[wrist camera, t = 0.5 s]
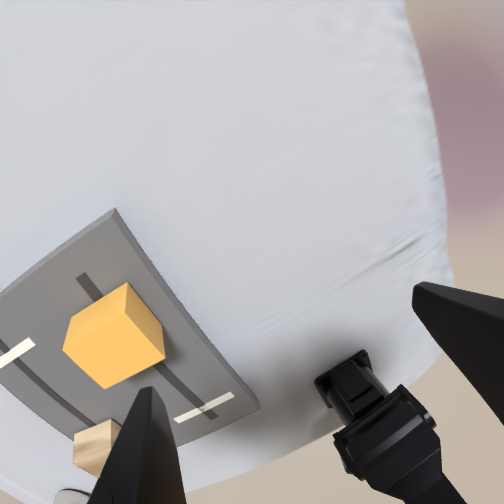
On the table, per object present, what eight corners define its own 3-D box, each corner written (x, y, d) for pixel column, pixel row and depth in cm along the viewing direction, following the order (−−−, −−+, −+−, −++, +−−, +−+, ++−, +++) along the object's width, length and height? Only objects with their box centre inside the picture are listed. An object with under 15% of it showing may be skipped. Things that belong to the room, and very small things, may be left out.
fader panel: (254, 394, 30) (260, 409, 28) (117, 454, 29) (118, 469, 27) (114, 207, 20) (111, 217, 18) (-35, 324, 18) (-44, 338, 17)
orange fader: (161, 324, 21) (165, 358, 18) (107, 355, 21) (104, 389, 18) (127, 282, 19) (125, 312, 16) (71, 317, 19) (62, 350, 16)
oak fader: (138, 439, 26) (141, 468, 22) (102, 452, 25) (103, 480, 22) (110, 419, 24) (111, 450, 21) (74, 434, 23) (72, 463, 20)
